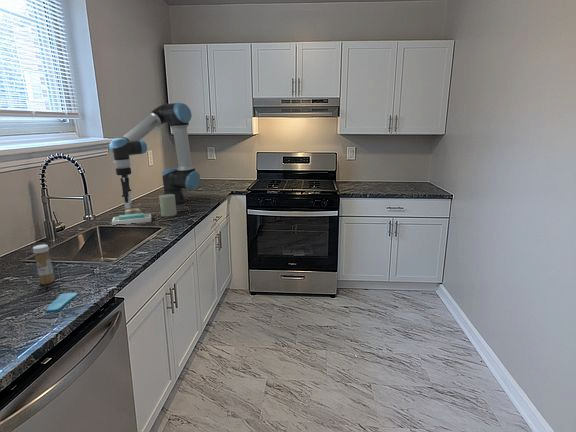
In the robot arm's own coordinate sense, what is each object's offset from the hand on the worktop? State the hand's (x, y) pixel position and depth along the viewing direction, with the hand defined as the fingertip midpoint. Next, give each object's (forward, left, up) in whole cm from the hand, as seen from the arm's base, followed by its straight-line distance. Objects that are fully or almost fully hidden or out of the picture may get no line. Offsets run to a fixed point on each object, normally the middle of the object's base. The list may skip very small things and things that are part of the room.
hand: (128, 205), depth 206 cm
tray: (-1, 0, -9) cm, 9 cm away
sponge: (+16, +95, -10) cm, 97 cm away
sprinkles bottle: (+24, +75, -10) cm, 79 cm away
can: (-21, -8, -10) cm, 24 cm away
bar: (-1, 0, -8) cm, 9 cm away
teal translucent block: (-1, -10, -9) cm, 14 cm away
